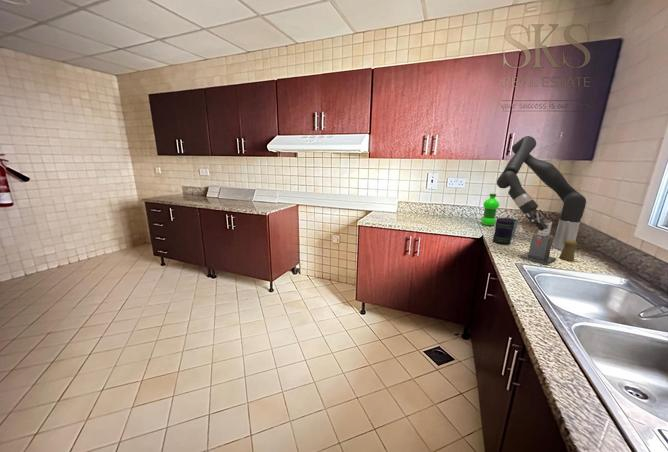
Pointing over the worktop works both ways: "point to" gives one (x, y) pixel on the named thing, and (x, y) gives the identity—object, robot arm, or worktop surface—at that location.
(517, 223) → the drinking glass
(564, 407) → the worktop surface
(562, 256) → the cork
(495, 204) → the plastic bottle
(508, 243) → the storage jar
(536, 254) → the stand base
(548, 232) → the column
